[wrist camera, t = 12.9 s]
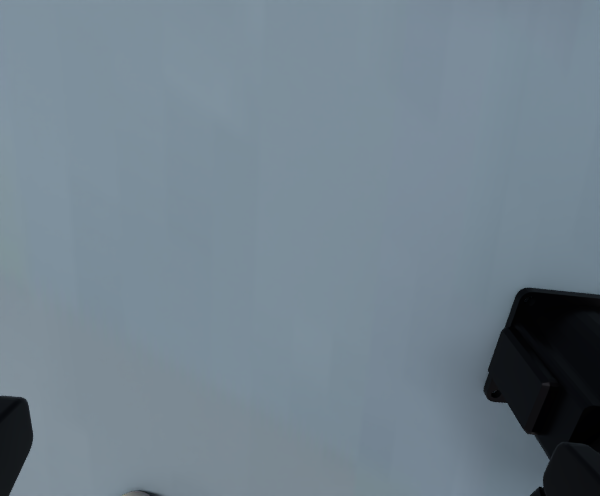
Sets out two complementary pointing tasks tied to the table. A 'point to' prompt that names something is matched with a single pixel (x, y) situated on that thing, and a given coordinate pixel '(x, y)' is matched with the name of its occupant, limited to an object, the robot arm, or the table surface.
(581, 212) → the table surface
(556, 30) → the table surface
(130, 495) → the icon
